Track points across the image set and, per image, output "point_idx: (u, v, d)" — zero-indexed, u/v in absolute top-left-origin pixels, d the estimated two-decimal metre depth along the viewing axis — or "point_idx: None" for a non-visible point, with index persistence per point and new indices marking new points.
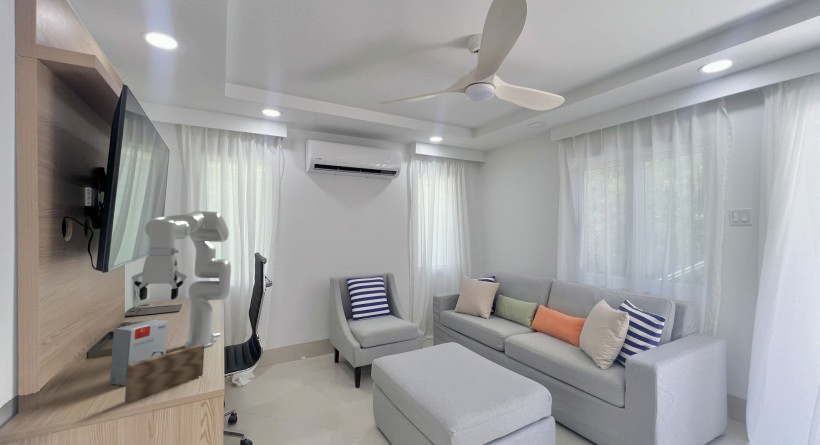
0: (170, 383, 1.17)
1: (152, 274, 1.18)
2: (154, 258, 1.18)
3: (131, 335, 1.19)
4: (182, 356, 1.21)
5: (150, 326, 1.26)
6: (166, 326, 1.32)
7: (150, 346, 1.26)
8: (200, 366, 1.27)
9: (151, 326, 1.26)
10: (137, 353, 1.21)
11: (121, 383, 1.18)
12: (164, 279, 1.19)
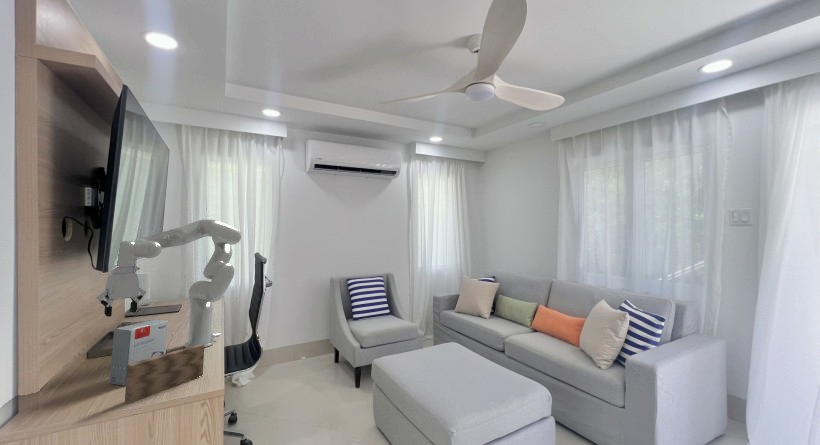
0: (170, 383, 1.17)
1: (121, 290, 1.31)
2: (123, 276, 1.32)
3: (131, 335, 1.19)
4: (182, 356, 1.21)
5: (150, 326, 1.26)
6: (166, 326, 1.32)
7: (150, 346, 1.26)
8: (200, 366, 1.27)
9: (151, 326, 1.26)
10: (137, 353, 1.21)
11: (121, 383, 1.18)
12: (132, 294, 1.35)
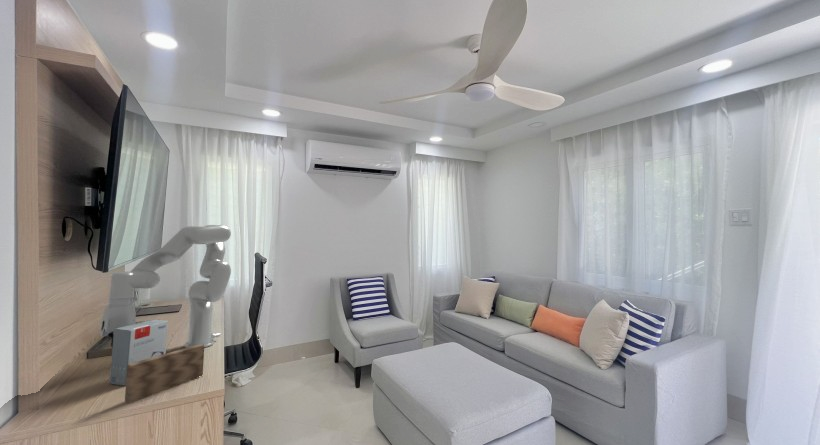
0: (170, 383, 1.17)
1: (117, 322, 1.30)
2: (120, 308, 1.31)
3: (131, 335, 1.19)
4: (182, 356, 1.21)
5: (150, 326, 1.26)
6: (166, 326, 1.32)
7: (149, 346, 1.26)
8: (200, 366, 1.27)
9: (151, 326, 1.26)
10: (137, 353, 1.21)
11: (121, 383, 1.18)
12: (128, 325, 1.34)
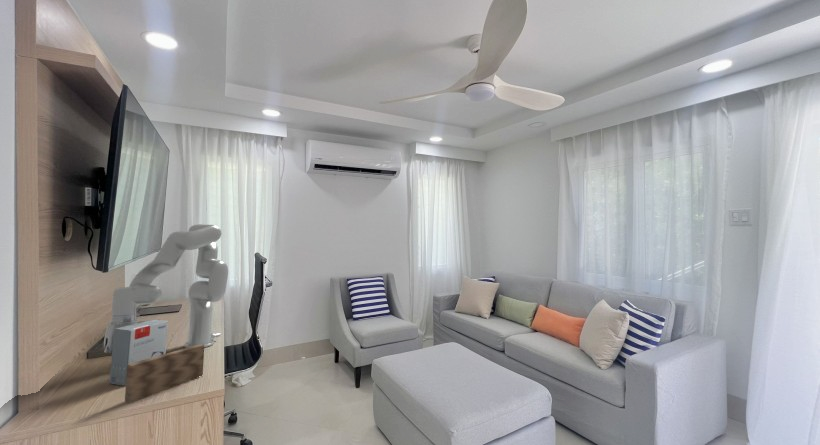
0: (170, 383, 1.17)
1: None
2: (123, 324, 1.30)
3: (131, 335, 1.19)
4: (182, 356, 1.21)
5: (150, 326, 1.26)
6: (166, 326, 1.32)
7: (149, 346, 1.26)
8: (200, 366, 1.27)
9: (151, 326, 1.26)
10: (137, 353, 1.21)
11: (121, 383, 1.18)
12: None
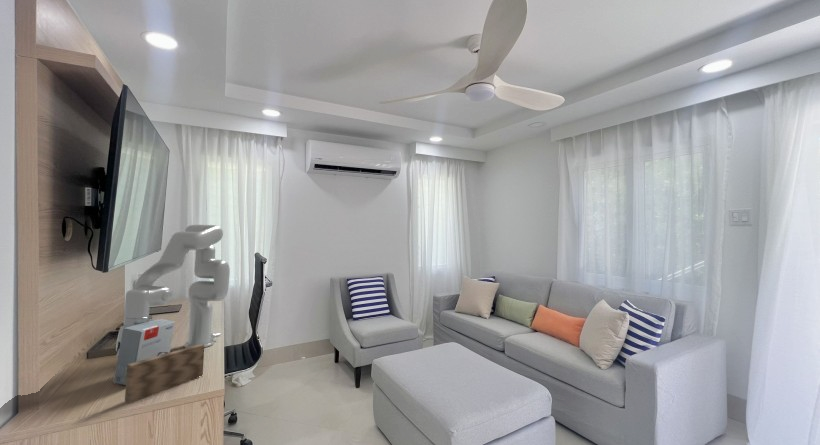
0: (170, 383, 1.17)
1: None
2: None
3: (141, 336, 1.18)
4: (182, 356, 1.21)
5: (159, 327, 1.25)
6: (173, 327, 1.32)
7: (156, 346, 1.25)
8: (200, 366, 1.27)
9: (159, 327, 1.26)
10: (144, 354, 1.21)
11: None
12: None
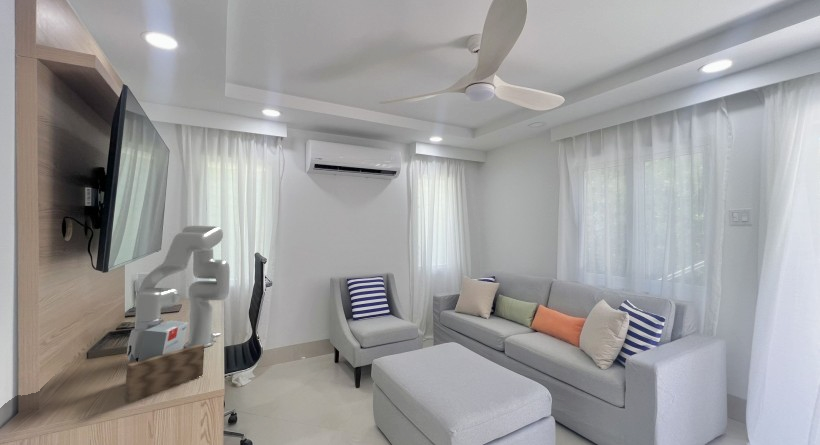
0: (170, 383, 1.17)
1: None
2: None
3: (166, 337, 1.18)
4: (182, 356, 1.21)
5: (177, 328, 1.25)
6: (186, 327, 1.32)
7: (174, 347, 1.25)
8: (200, 366, 1.27)
9: (178, 328, 1.26)
10: None
11: None
12: None
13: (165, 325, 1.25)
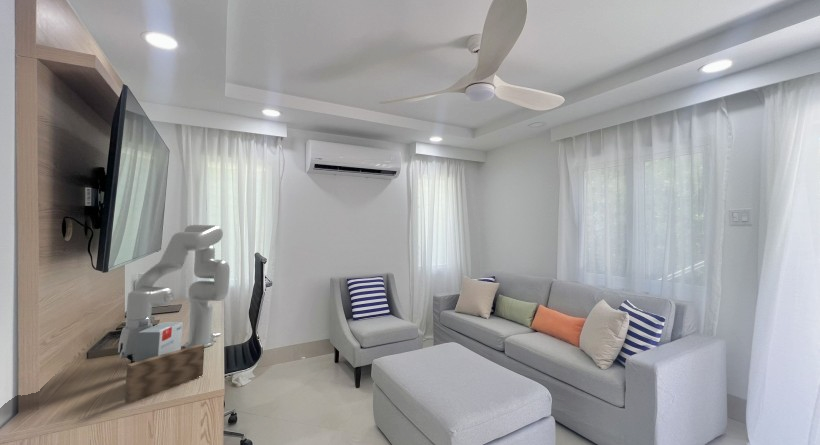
0: (170, 383, 1.17)
1: None
2: (138, 329, 1.25)
3: (160, 337, 1.18)
4: (182, 356, 1.21)
5: (171, 327, 1.25)
6: (181, 327, 1.31)
7: (171, 347, 1.25)
8: (200, 366, 1.27)
9: (172, 327, 1.25)
10: None
11: None
12: None
13: (159, 326, 1.24)
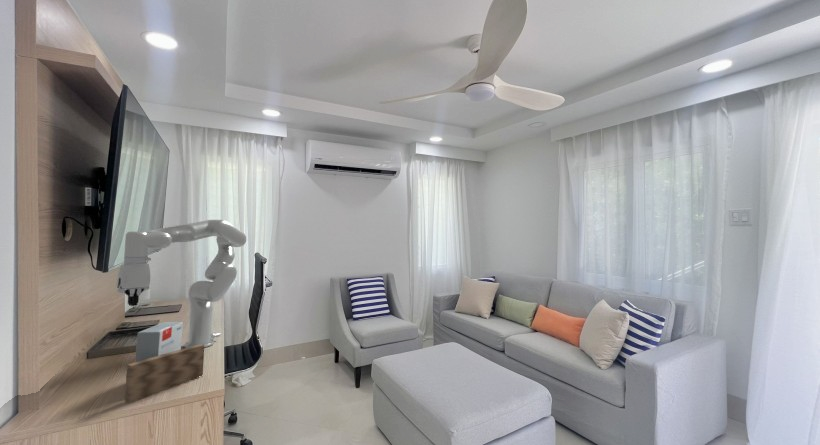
0: (170, 383, 1.17)
1: (133, 280, 1.33)
2: (135, 266, 1.34)
3: (160, 337, 1.18)
4: (182, 356, 1.21)
5: (171, 327, 1.25)
6: (181, 327, 1.31)
7: (171, 347, 1.25)
8: (200, 366, 1.27)
9: (172, 327, 1.25)
10: None
11: None
12: (143, 284, 1.37)
13: (159, 326, 1.24)
